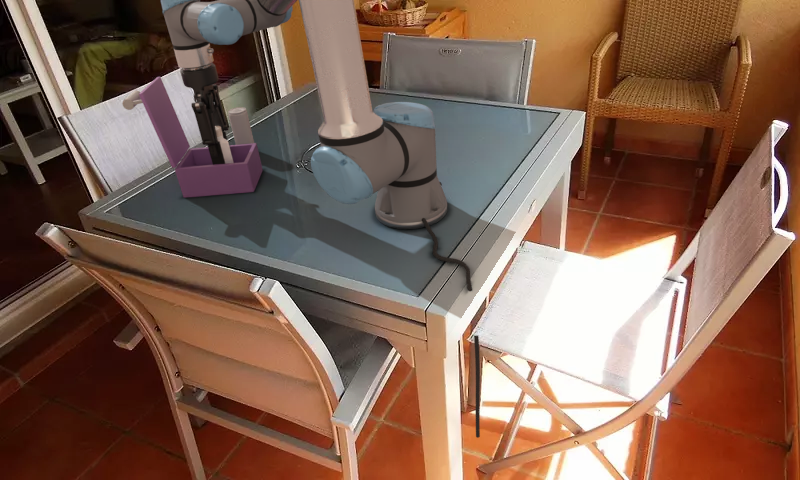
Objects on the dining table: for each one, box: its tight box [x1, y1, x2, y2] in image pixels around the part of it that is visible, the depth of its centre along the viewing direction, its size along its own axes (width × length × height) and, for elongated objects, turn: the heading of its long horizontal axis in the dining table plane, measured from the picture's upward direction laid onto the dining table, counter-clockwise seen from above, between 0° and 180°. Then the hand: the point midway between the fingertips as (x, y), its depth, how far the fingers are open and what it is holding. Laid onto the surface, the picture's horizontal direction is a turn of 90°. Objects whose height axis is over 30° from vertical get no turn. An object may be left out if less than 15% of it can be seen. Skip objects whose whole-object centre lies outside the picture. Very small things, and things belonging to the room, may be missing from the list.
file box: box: [174, 142, 264, 198], centre depth 139 cm, size 17×12×7 cm
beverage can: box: [227, 106, 255, 145], centre depth 153 cm, size 5×5×12 cm
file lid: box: [121, 76, 191, 169], centre depth 132 cm, size 18×12×7 cm
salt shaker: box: [215, 126, 233, 164], centre depth 136 cm, size 4×4×10 cm
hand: (223, 162), depth 138 cm, fingers closed on salt shaker, 5 cm apart
